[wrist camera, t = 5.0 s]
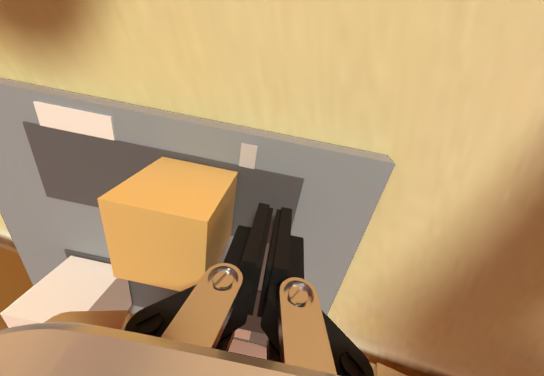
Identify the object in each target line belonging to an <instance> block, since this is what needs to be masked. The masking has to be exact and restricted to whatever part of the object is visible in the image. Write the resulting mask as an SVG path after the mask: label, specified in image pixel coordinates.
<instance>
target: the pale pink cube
mask: <svg viewBox="0 0 544 376" xmlns="http://www.w3.org/2000/svg"><path fill="white" fill-rule="evenodd" d="M131 305H132V300H131V295H130V289H129V283H128V280H125V279H121V278H116V277H114V276H113V271H112V266H111V264H107V263H103V262H98V261H94V260H89V259H84V258H80V257H75V256H70V257H69V258H67V259H66V260H65V261H64V262H62V263H61V264H60V265H59V266H58V267H56V268H55V269H54V270H53V271H51V272H50V273H49V274H48V275H47V276H45V277H44V278H43V279H42V280H40V281H39V282H38V283H37V284H36V285H34V286H33V287H32V288H31V289H29V290H28V291H27V292H26V293H24V294H23V295H22V296H21V297H20V298H18V299H17V300H16V301H15V302H14V303H12V304H11V305H10V306H9V307H8V308H6V309H5V310H4V311H2V312H1V313H0V314H1V316H2V317H3V319H4V321H5V322H6V324H7V326H8V327H9V328H11V327H16V326H22V325H28V324H36V323H44V322H45V321H47V320H48V319H50V318H51V317H53V316H56V315H58V314H60V313H64V312H70V311H114V310H128V309H129V308H130V306H131Z"/></svg>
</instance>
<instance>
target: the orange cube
mask: <svg viewBox="0 0 544 376" xmlns="http://www.w3.org/2000/svg"><path fill="white" fill-rule="evenodd" d="M237 176H238V172H235V171H231V170H226V169H221V168H216V167H211V166H206V165H201V164H196V163H192V162H187V161H182V160H177V159H172V158H167V157H161V158H159V159H158V160H156V161H155V162H153V163H152V164H150V165H149V166H147V167H146V168H144V169H142V170H141V171H139V172H138V173H136V174H135V175H133V176H132V177H130V178H128V179H127V180H125V181H124V182H122V183H121V184H119V185H118V186H116V187H115V188H113V189H111V190H110V191H108V192H107V193H105V194H104V195H102V196H101V197H99V198H97V200H98V205H99V209H100V214H101V219H102V224H103V228H104V233H105V238H106V242H107V247H108V252H109V257H110V261H111V266H112V271H113V276H114V277H116V278H121V279H125V280H130V281H134V282H139V283H144V284H148V285H153V286H157V287H162V288H167V289H171V290H176V291H180V292H181V291H183V290H185V289H187V288H190V287H192V286H194V285H196V284H198V282H199V281H200V279H201V278H202V276H203V275H204V273H205V272H206V271H207V270H208V269H209V268H210V267H212V266H213V265H216V264H218V262H219V260H220V258H221V255H222V253H223V251H224V248H225V246H226V244H227V241H228V239H229V237H230V234H231V230H232V221H233V212H234V203H235V194H236V185H237Z"/></svg>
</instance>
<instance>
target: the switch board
mask: <svg viewBox="0 0 544 376" xmlns="http://www.w3.org/2000/svg"><path fill="white" fill-rule="evenodd" d="M161 157H167V158H172V159H177V160H182V161H187V162H192V163H196V164H201V165H206V166H211V167H216V168H221V169H226V170H231V171H235V172H238V176H237V185H236V194H235V203H234V212H233V221H232V230H231V234H230V237H229V239H228V241H227V244H226V246H225V248H224V251H223V253H222V255H221V258H220V260H219V262H218V264H219V263H223V262H224V259H225V257H226V254H227V252H228V249H229V247H230V244H231V242H232V239H233V237H234V234H235V232H236V229H237V227H238V225H241V226H247V227H252V224H253V221H254V218H255V214H256V211H257V208H258V205H259V203H264V204H269V205H270V208H273V213H272V219H271V224H270V229H269V234H268V240H267V245H266V250H265V255H264V260H263V265H262V271H261V276H260V281H259V286H258V291H257V296H256V301H255V306H254V311H253V316H252V315H248V316H247V321H246V323H245V325H243V326H241V327H240V328H238V329H237V330H235V335H234V337H233V339H237V340H241V341H246V342H250V343H255V344H259V345H264V346H267V336H266V334H265V333H264V331H263V330H262V328H261V326H260V324H261V317H257V312H258V306H259V301H260V295H261V290H262V284H263V278H264V273H265V267H266V262H267V256H268V251H269V246H270V241H271V236H272V231H273V226H274V221H275V216H276V211H277V209H280V210H281V207H285V208H290V209H292V222H291V235H292V236H297V237H302V238H303V239H304V280H306V281H308V282H309V283H311V284H312V285H313V287H314V288H315V289H316V291H317V294H318V297H319V302H320V306H321V310H322V311H323V312H324V313H325V314H326V315H328V312H329V310H330V308H331V306H332V303H333V301H334V299H335V297H336V295H337V292H338V290H339V288H340V286H341V283H342V281H343V279H344V277H345V275H346V272H347V270H348V268H349V266H350V263H351V261H352V259H353V257H354V255H355V252H356V250H357V248H358V246H359V243H360V241H361V239H362V237H363V235H364V232H365V230H366V228H367V226H368V224H369V221H370V219H371V217H372V215H373V212H374V210H375V208H376V206H377V204H378V201H379V199H380V197H381V195H382V192H383V190H384V188H385V186H386V184H387V181H388V179H389V177H390V175H391V172H392V170H393V168H394V166H395V163H394V162H393V160H392V159H391V158H390V157H389V156H388V155H384V154H379V153H374V152H369V151H364V150H359V149H354V148H349V147H344V146H339V145H334V144H329V143H324V142H319V141H314V140H309V139H304V138H299V137H294V136H289V135H284V134H279V133H274V132H269V131H264V130H259V129H254V128H249V127H244V126H239V125H234V124H229V123H224V122H219V121H214V120H209V119H204V118H199V117H194V116H189V115H184V114H179V113H174V112H169V111H164V110H159V109H154V108H149V107H144V106H139V105H134V104H129V103H124V102H119V101H114V100H109V99H104V98H99V97H94V96H89V95H84V94H79V93H74V92H69V91H64V90H59V89H54V88H49V87H44V86H39V85H34V84H29V83H25V82H20V81H15V80H10V79H5V78H0V213H1V216H2V218H3V220H4V222H5V224H6V227H7V229H8V231H9V233H10V235H11V238H12V240H13V242H14V244H15V246H16V249H17V251H18V253H19V255H20V257H21V260H22V262H23V264H24V266H25V268H26V270H27V273H28V275H29V277H30V279H31V281H32V284H33V286H34V285H36V284H37V283H38V282H39V281H40V280H42V279H43V278H44V277H45V276H47V275H48V274H49V273H50V272H51V271H53V270H54V269H55V268H56V267H58V266H59V265H60V264H61V263H62V262H64V261H65V260H66V259H67V258H69V257H70V256H75V257H80V258H84V259H89V260H94V261H98V262H103V263H107V264H111V261H110V257H109V252H108V247H107V242H106V238H105V233H104V228H103V224H102V219H101V214H100V209H99V205H98V200H97V198H99V197H101V196H102V195H104V194H105V193H107V192H108V191H110V190H111V189H113V188H115V187H116V186H118V185H119V184H121V183H122V182H124V181H125V180H127V179H128V178H130V177H132V176H133V175H135V174H136V173H138V172H139V171H141V170H142V169H144V168H146V167H147V166H149V165H150V164H152V163H153V162H155V161H156V160H158V159H159V158H161ZM128 283H129V289H130V295H131V300H132V305H131V306H130V308H129V309H128V310H129V312H130V313H137V312H138V311H140V310H141V309H143V308H145V307H147V306H150V305H152V304H154V303H156V302H158V301H161V300H163V299H165V298H167V297H170V296H172V295H174V294H176V293H178V292H180V291H176V290H171V289H167V288H162V287H157V286H153V285H148V284H144V283H139V282H134V281H130V280H128Z"/></svg>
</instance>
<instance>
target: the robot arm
mask: <svg viewBox="0 0 544 376" xmlns="http://www.w3.org/2000/svg"><path fill="white" fill-rule="evenodd" d="M272 213H273V208H270V205H269V204H264V203H259V205H258V208H257V211H256V214H255V218H254V221H253V224H252V227H247V226H241V225H238V227H237V229H236V232H235V234H234V237H233V239H232V242H231V244H230V247H229V249H228V252H227V254H226V257H225V259H224V262H223V263H219V264H216V265H213V266H212V267H210V268H209V269H208V270H207V271H206V272H205V273H204V275H203V276H202V278H201V279H200V281H199V282H198V284H196V285H194V286H192V287H190V288H187V289H185V290H183V291H181V292H178V293H176V294H174V295H172V296H170V297H167V298H165V299H163V300H161V301H158V302H156V303H154V304H152V305H150V306H147V307H145V308H143V309H141V310H140V311H138V312H137V313H130V312H129V310H114V311H70V312H64V313H60V314H58V315H56V316H53V317H51V318H50V319H48V320H47V321H45V322H44V323H36V324H28V325H22V326H16V327H11V328H7V329H3V330H0V376H407V375H404V374H402V373H400V372H398V371H396V370H393V369H391V368H389V367H387V366H385V365H382V364H380V363H378V362H377V363H376V364H373V363H370V362H369V360H368V359H367V358H366V356H365V355H364V354H363V353H362V352H361V351H360V350H359V349H358V348H357V347H356V345H355V344H354V343H353V342H352V341H351V340H350V339H349V338H348V337H347V336H346V335H345V334H344V333H343V332H342V331H341V330H340V329H339V328H338V327H337V326H336V325H335V323H334V322H333V321H332V320H331V319H330V318H329V317H328V316H327V315H326V314H325V313H324V312H323V311H322V310H321V306H320V302H319V297H318V294H317V291H316V289H315V288H314V287H313V285H312V284H311V283H309V282H308V281H306V280H304V239H303V238H302V237H297V236H292V235H291V222H292V209H290V208H285V207H281V210H280V209H277V211H276V216H275V221H274V226H273V231H272V236H271V241H270V246H269V251H268V256H267V262H266V267H265V273H264V278H263V284H262V290H261V295H260V301H259V306H258V312H257V317H261V324H260V326H261V328H262V330H263V331H264V333H265V334H266V336H267V360H265V359H260V358H256V357H251V356H246V355H242V354H237V353H232V352H228V350H229V347H230V345H231V342H232V340H233V337H234V335H235V330H237V329H238V328H240V327H241V326H243V325H245V323H246V321H247V316H248V315H252V316H253V311H254V306H255V301H256V296H257V291H258V286H259V281H260V276H261V271H262V265H263V260H264V255H265V250H266V245H267V240H268V234H269V229H270V224H271V219H272Z"/></svg>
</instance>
